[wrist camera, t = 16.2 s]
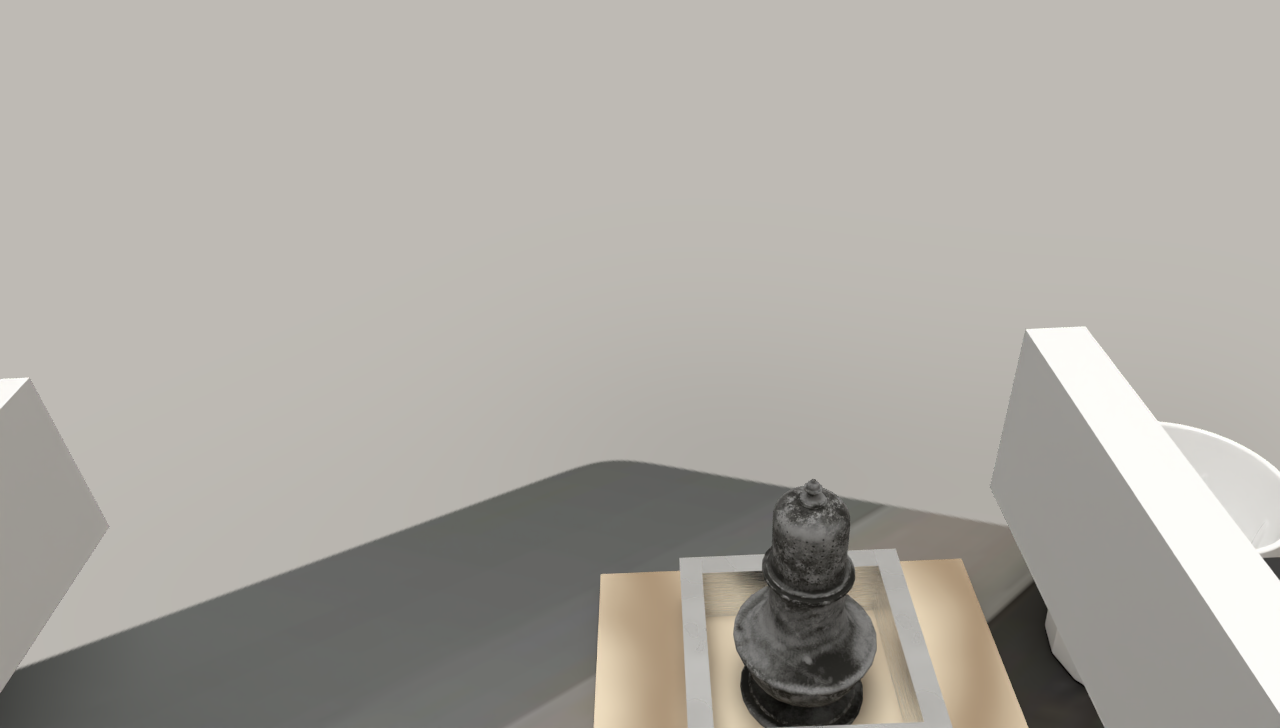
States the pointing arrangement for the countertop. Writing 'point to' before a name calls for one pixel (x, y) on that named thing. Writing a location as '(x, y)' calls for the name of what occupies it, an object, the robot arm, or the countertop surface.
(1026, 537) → the robot arm
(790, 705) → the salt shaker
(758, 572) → the collar
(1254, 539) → the white cup
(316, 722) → the countertop surface
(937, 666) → the flange board
